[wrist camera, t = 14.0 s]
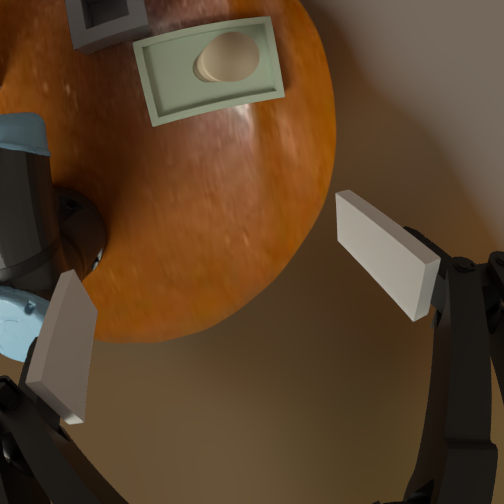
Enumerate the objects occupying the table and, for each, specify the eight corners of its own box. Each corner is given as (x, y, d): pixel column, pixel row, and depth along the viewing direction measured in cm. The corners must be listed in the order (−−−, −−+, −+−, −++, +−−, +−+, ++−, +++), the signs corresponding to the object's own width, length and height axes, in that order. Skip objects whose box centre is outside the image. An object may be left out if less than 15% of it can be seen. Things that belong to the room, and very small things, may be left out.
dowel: (196, 85, 37) (211, 86, 22) (189, 55, 34) (200, 37, 20) (228, 78, 37) (263, 76, 23) (222, 48, 35) (254, 28, 21)
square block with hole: (87, 54, 31) (73, 49, 25) (77, 1, 26) (63, -12, 20) (151, 33, 32) (148, 23, 26) (140, -20, 27) (136, -37, 21)
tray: (153, 124, 39) (152, 127, 37) (134, 45, 32) (132, 42, 30) (278, 96, 41) (284, 96, 39) (264, 19, 35) (270, 16, 32)
